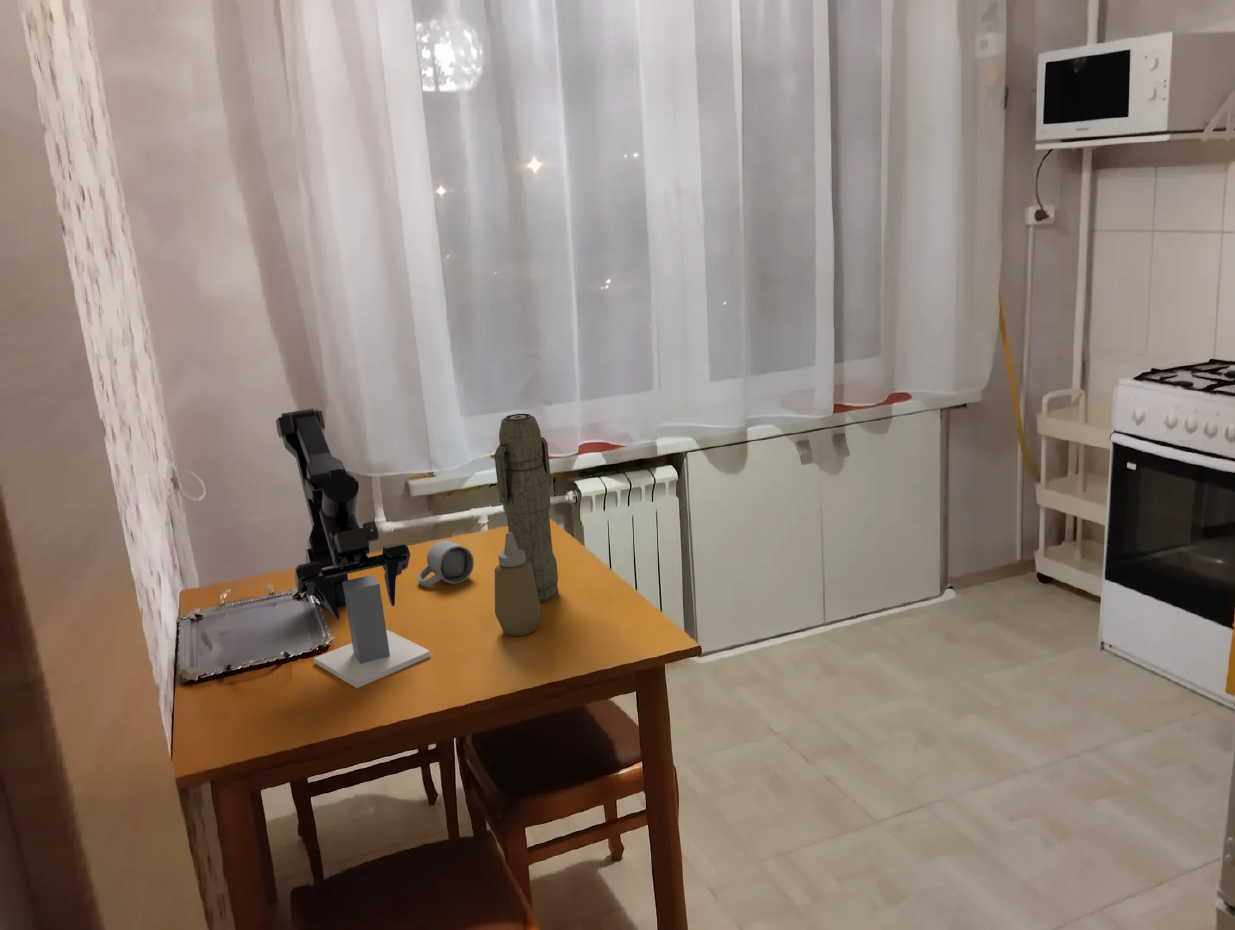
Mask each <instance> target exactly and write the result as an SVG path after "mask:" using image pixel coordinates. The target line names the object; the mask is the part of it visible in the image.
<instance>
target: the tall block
mask: <svg viewBox="0 0 1235 930" xmlns="http://www.w3.org/2000/svg"><path fill="white" fill-rule="evenodd" d="M343 589H344V595H345V601H346V604H345V607H346V612H347V618H348V619H347V620H348V624H349V632H350V638H351V643H352V646H353V652H354V654H355V656H356V658H357V659H358V661H359V663H360V664H362V663H366V662H370V661H373V660H377V659H381V658H385V657H388V656H390V652H389V645H388V639H387V632H386V629H387V628H386V619H385V614H384V613H385V612H384V605H383V599H382V593H381V585H380V582H379V581H378V580H377V578H375V576H374V575H373V574H369V575H365V576H361V577H356V578H351V579H348V580H347V581H343Z"/></svg>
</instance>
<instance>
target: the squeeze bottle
mask: <svg viewBox="0 0 1235 930" xmlns="http://www.w3.org/2000/svg"><path fill="white" fill-rule="evenodd" d="M497 557H498V564H497V566H496V567H495V568H494V614H495V618H496V619H497V622H498V623H499V626H500V628H501V630H502V632H503V634H505V635H508V636H512V637H519V636H526V635H529V634H531V633H533V632H534V631H536V629H537V628H538V623H539V618H540V615H541V614H540V613H541V611H542V607H541V603H540V602H539V597H538V593H537V588H536V583H535V579H534V574H533V569H532V565H531V564H530V563H529V562H527V561H526V556H525V551H523V550H521V549H518V547H517V544H516V541H515V538H514V535H513V533H511V532H507V533H505V540H504V549H503V550H502V551H500V552H499V553H498V556H497Z"/></svg>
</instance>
